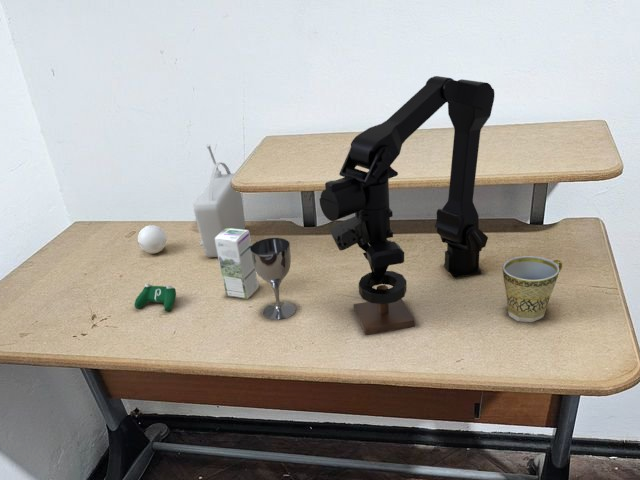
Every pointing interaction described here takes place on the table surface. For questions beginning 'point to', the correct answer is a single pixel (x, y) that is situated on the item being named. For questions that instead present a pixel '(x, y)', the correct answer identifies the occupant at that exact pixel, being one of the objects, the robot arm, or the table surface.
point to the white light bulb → (152, 239)
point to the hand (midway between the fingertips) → (377, 278)
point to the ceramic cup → (529, 286)
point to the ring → (386, 294)
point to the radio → (218, 208)
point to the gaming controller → (156, 296)
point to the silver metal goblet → (273, 272)
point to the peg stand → (383, 315)
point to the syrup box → (236, 263)
